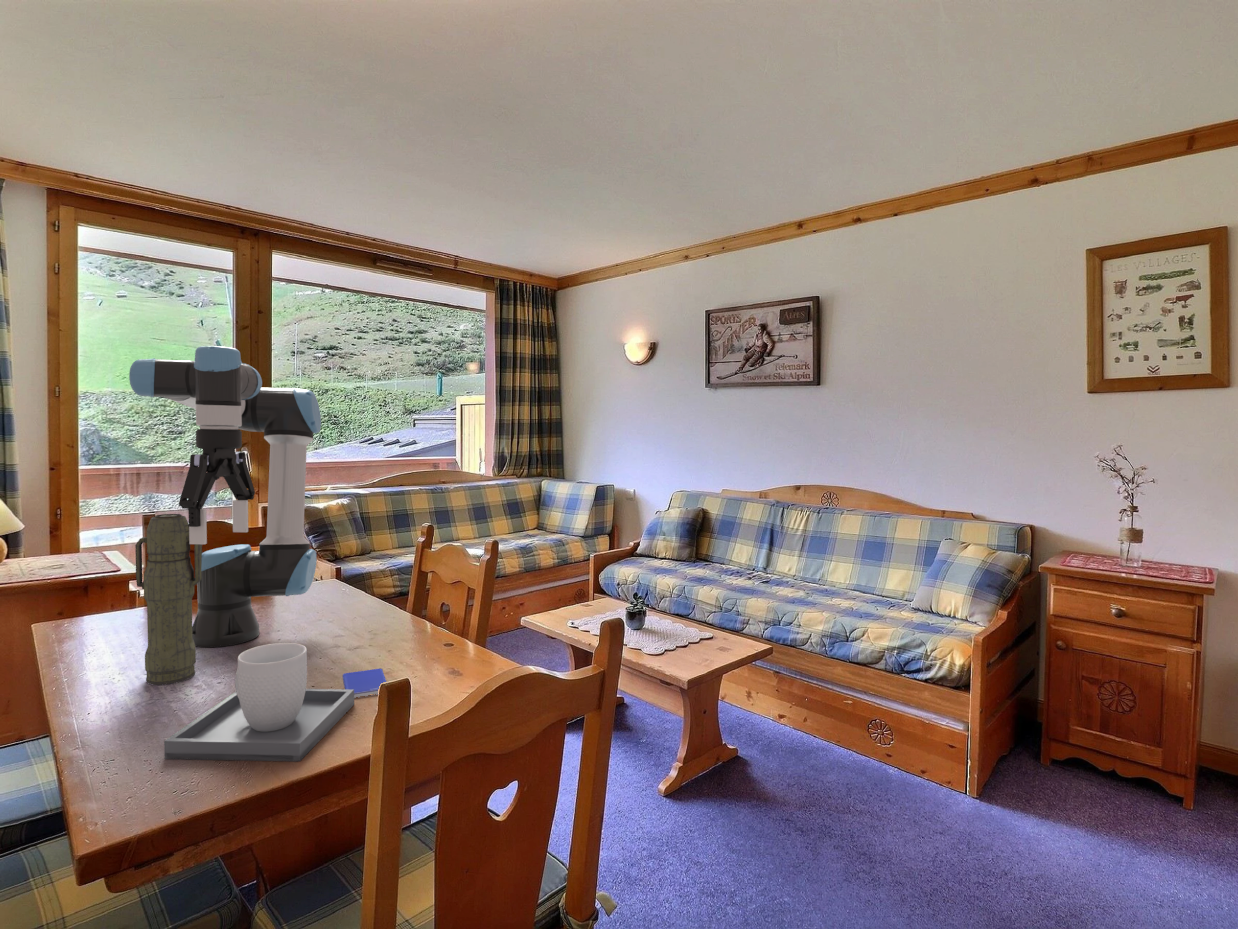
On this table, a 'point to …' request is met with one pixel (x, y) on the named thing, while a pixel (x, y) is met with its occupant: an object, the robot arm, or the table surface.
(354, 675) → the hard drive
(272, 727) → the mug
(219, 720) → the tray
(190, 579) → the thermos
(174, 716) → the table surface
